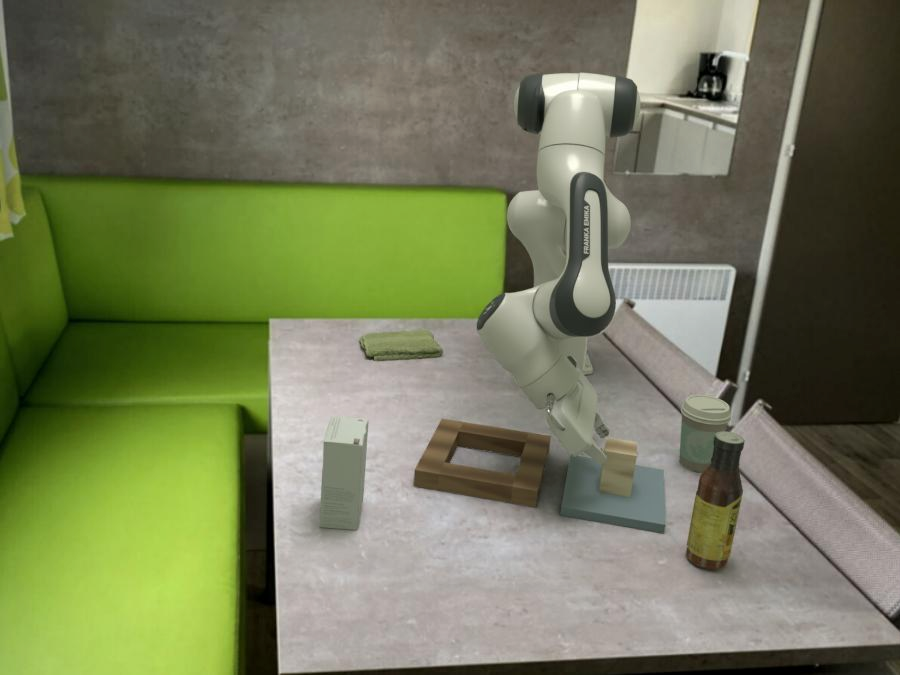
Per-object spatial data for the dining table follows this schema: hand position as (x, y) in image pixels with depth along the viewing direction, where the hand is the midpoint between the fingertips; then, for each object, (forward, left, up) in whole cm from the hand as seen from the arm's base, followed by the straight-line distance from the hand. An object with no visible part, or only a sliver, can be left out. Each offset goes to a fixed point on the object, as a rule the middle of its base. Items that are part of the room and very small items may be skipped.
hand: (605, 447), depth 141 cm
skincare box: (+20, -37, -9) cm, 43 cm away
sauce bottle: (+14, +17, -9) cm, 23 cm away
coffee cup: (-16, +17, -9) cm, 25 cm away
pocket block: (-2, -19, -8) cm, 21 cm away
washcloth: (-50, -47, -9) cm, 69 cm away
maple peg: (0, +3, -7) cm, 7 cm away
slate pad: (0, +3, -8) cm, 9 cm away
